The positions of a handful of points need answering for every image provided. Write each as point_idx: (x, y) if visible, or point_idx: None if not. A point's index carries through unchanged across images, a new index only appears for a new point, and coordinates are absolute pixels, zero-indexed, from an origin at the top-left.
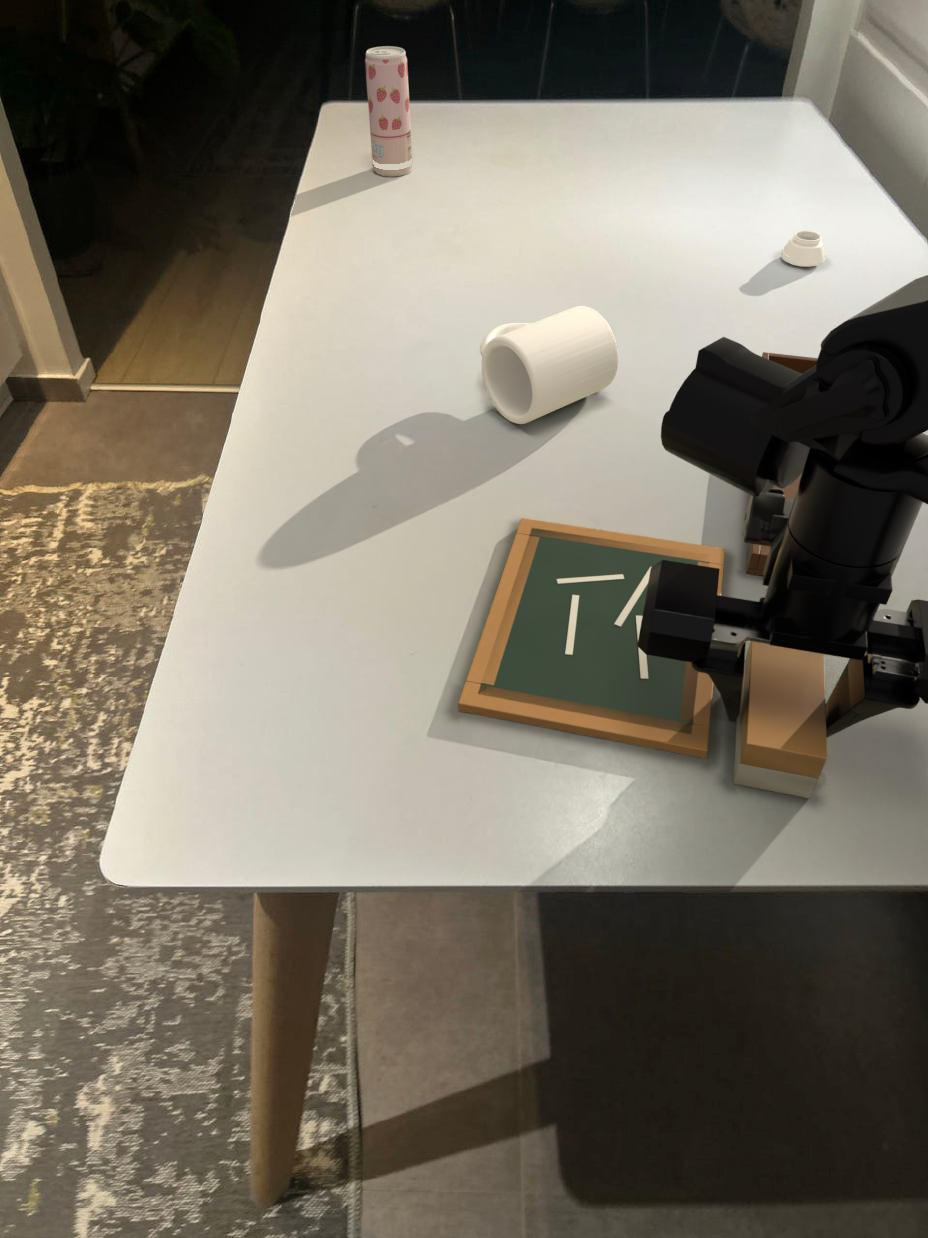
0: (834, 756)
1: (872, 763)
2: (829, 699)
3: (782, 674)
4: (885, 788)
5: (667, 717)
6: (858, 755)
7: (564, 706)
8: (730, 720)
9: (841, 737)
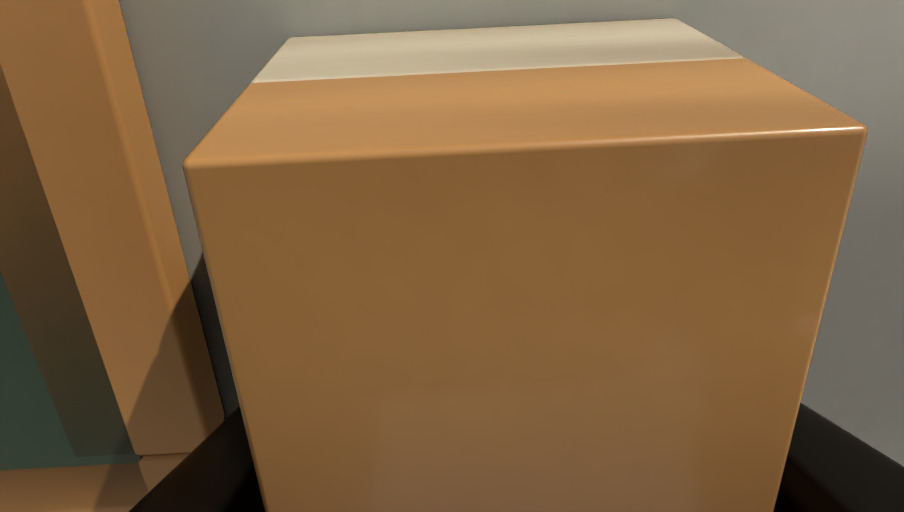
0: None
1: (888, 366)
2: (784, 477)
3: (489, 477)
4: (900, 450)
5: (20, 461)
6: (841, 346)
7: None
8: None
9: None
